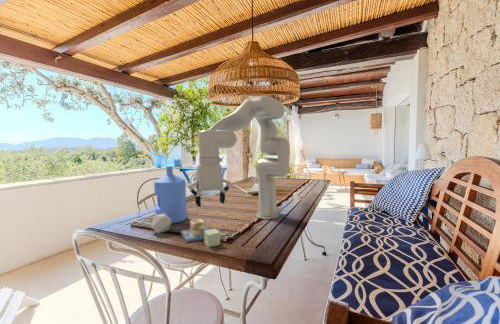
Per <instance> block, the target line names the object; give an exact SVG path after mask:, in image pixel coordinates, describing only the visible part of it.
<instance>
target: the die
mask: <svg viewBox="0 0 500 324" xmlns="http://www.w3.org/2000/svg"><path fill="white" fill-rule="evenodd" d="M171 222H172V220H171V219H170V218H169V217H168V216H167V215H166V213H164V214H159V215H156V214H155V215H154V216H153V219H152V222H151V223H150V227H151V229H153V230H154V231H155V232H156V234H162V233H165V232H169V231H170V228H171V226H172V224H171Z"/></svg>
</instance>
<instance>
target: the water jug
mask: <svg viewBox="0 0 500 324" xmlns="http://www.w3.org/2000/svg"><path fill="white" fill-rule="evenodd" d="M165 168H166V174H165V175H164V176H162V177H159V178H158V179H156V180H154V185H153V189H154V195H155V196H156V199H157V200H156V202H157V205H156V206H155V215H159V214H164V213H166V215H167V216H168V217H169V218H170V219H171V220H172V222H171V225H172V224H173V225H174V224H179V223H181V222H184V221H185V220H186V219H187V218H188V212H187V193H186V192H187V191H186V190H187V189H186V187H187V186H186V185H187V183H186V179H185V178H182V177H180V176H178V175H175V174H174V172H173V171H174V170H173V168H174V167H173V166H166V167H165Z"/></svg>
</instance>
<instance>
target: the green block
mask: <svg viewBox="0 0 500 324" xmlns="http://www.w3.org/2000/svg"><path fill="white" fill-rule="evenodd" d="M203 240H204V241H203V242H204V245H206V246H207V248H210V247H211V248H212V247H216V246H220V245H221V232H219V230H218V229H217V228H212V229H210V230H206V231H204V239H203Z"/></svg>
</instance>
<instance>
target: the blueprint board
mask: <svg viewBox="0 0 500 324" xmlns="http://www.w3.org/2000/svg"><path fill="white" fill-rule="evenodd" d="M206 230H211V229H210V228H209V227H208V226H207V225H204V231H206ZM180 235H181V236H182V238H183V239H184V241H185V242H186V243H191V242H195V241H196V242H197V241H200V240H201V241H202V240H204V233H203V234H198V235H192V233H191V232H190V228H189V229H188V228H187V229H182V230H180Z"/></svg>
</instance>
